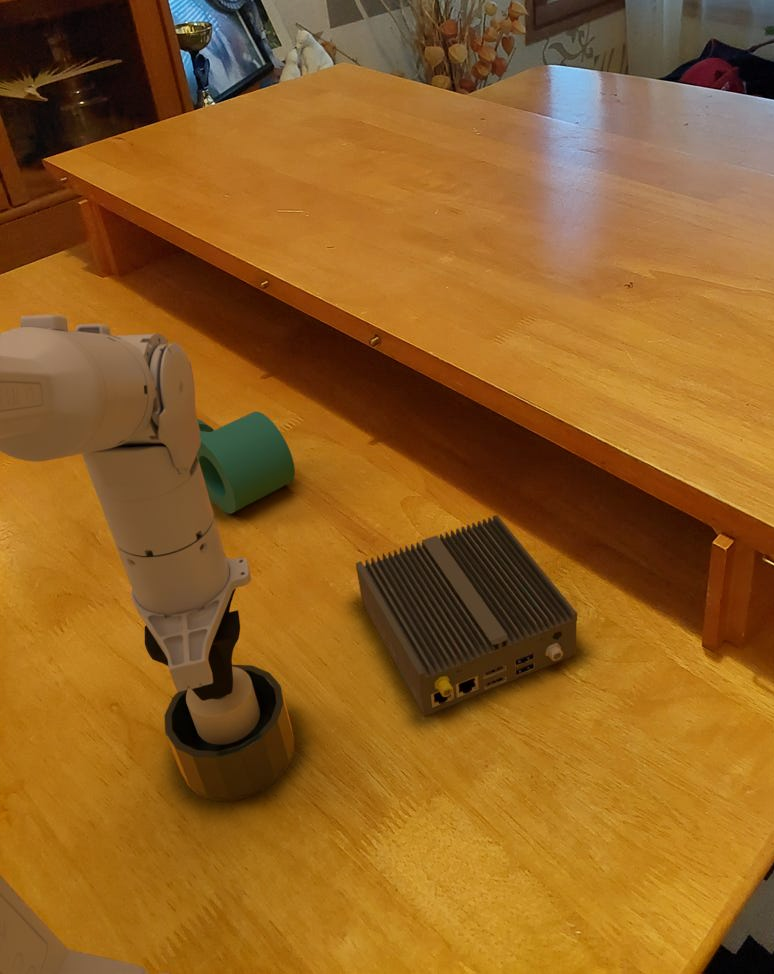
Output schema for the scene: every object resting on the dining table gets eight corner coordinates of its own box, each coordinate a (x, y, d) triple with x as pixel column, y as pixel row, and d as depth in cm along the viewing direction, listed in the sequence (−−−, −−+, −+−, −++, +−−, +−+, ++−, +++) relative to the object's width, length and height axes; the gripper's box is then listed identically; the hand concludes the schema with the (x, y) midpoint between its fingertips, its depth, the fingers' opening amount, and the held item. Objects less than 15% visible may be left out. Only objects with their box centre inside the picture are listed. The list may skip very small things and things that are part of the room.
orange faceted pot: (246, 819, 62) (230, 774, 59) (158, 775, 66) (139, 729, 63) (316, 733, 68) (305, 687, 65) (232, 695, 71) (218, 650, 68)
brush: (231, 754, 62) (204, 673, 57) (182, 730, 64) (152, 650, 59) (273, 707, 65) (250, 627, 60) (225, 686, 67) (199, 606, 62)
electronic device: (429, 728, 68) (424, 682, 65) (360, 601, 79) (352, 556, 76) (583, 665, 72) (584, 618, 69) (496, 552, 83) (494, 508, 80)
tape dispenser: (242, 526, 88) (224, 459, 83) (165, 463, 97) (146, 400, 92) (300, 495, 91) (286, 429, 87) (221, 437, 100) (205, 375, 96)
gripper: (244, 590, 49) (288, 750, 57) (224, 445, 60) (263, 596, 69) (106, 621, 48) (171, 781, 56) (112, 467, 59) (166, 619, 67)
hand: (215, 681), depth 62 cm, fingers closed on brush
